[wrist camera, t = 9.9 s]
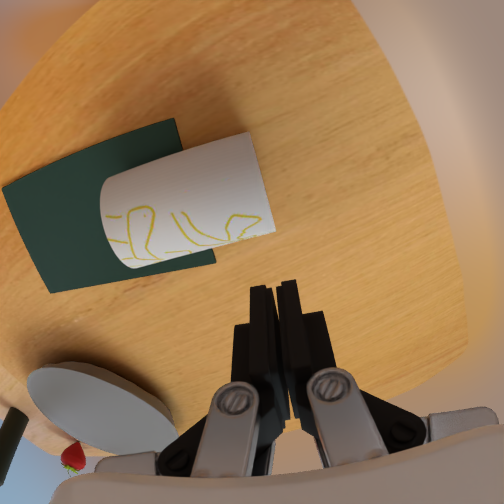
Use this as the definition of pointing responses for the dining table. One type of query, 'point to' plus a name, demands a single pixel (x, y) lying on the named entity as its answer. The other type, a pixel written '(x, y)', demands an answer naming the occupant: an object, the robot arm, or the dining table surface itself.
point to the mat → (87, 211)
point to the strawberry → (73, 457)
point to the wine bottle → (10, 438)
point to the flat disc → (101, 408)
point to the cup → (186, 203)
